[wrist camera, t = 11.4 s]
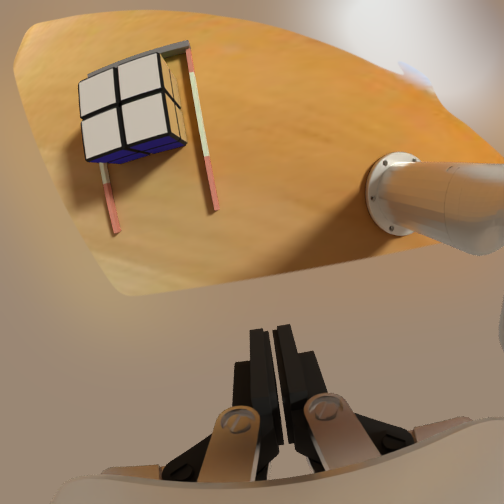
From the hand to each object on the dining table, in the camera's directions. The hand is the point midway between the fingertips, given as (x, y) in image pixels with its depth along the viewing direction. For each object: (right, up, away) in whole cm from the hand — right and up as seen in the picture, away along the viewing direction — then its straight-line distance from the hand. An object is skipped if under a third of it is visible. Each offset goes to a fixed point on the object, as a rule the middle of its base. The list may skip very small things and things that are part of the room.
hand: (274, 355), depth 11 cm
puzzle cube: (-15, +22, +21) cm, 34 cm away
